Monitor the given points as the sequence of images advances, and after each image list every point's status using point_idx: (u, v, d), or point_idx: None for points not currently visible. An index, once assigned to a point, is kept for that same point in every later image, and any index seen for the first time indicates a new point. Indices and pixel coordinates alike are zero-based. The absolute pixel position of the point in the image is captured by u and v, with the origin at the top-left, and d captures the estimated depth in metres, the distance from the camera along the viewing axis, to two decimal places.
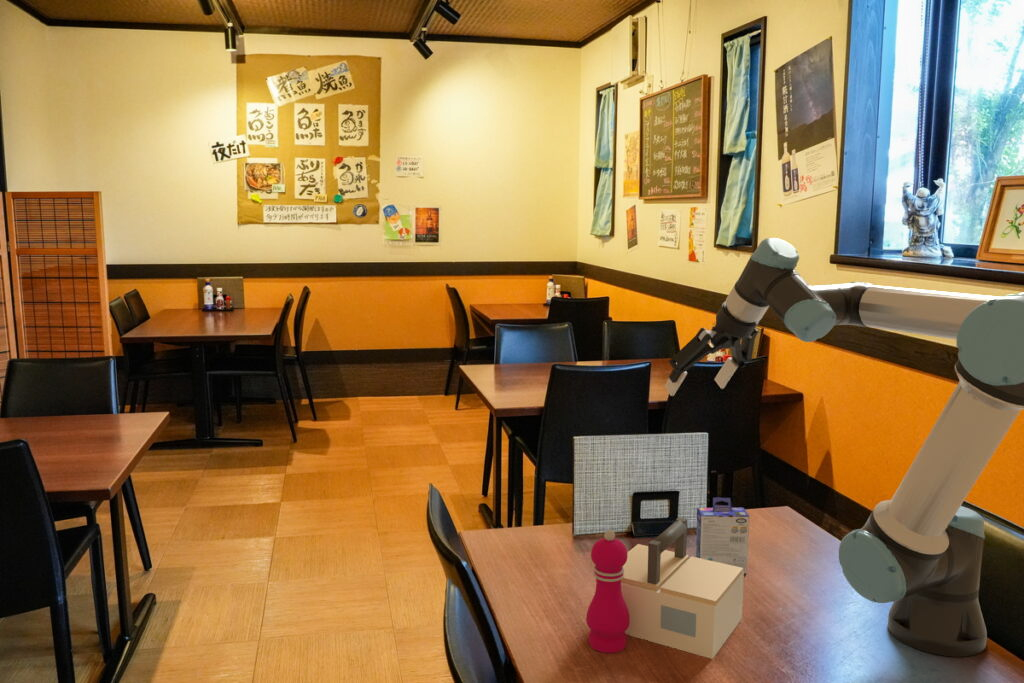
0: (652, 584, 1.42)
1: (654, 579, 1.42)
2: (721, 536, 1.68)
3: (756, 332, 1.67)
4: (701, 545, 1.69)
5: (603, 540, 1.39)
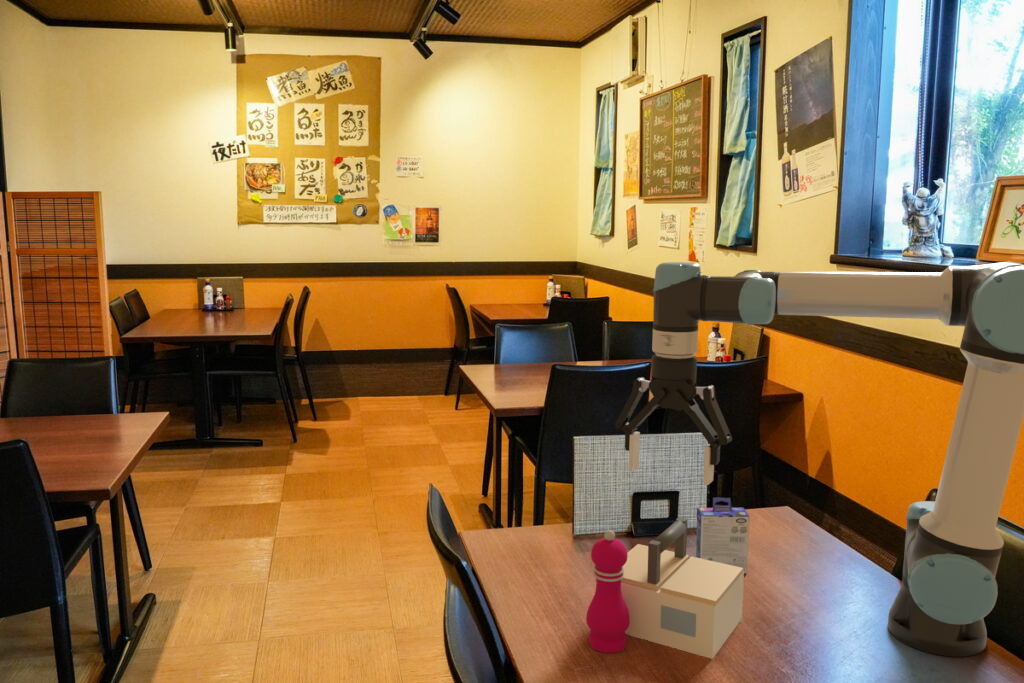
0: (652, 584, 1.42)
1: (654, 579, 1.42)
2: (721, 536, 1.68)
3: None
4: (701, 545, 1.69)
5: (603, 540, 1.39)
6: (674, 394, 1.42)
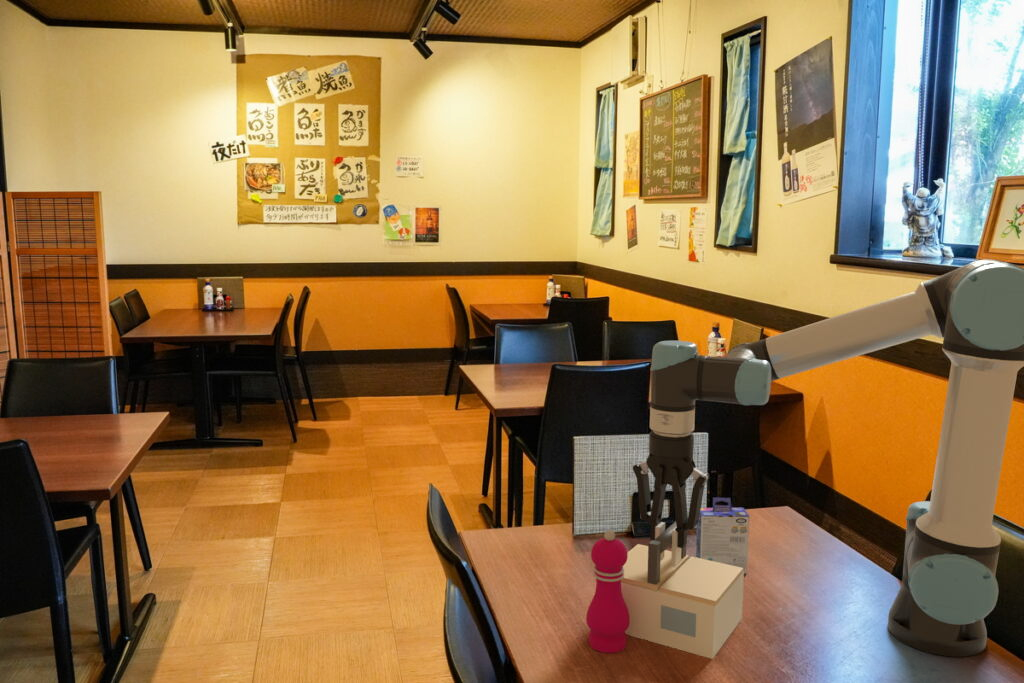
0: (652, 584, 1.42)
1: (654, 579, 1.42)
2: (721, 536, 1.68)
3: None
4: (701, 545, 1.69)
5: (603, 540, 1.39)
6: (672, 470, 1.43)
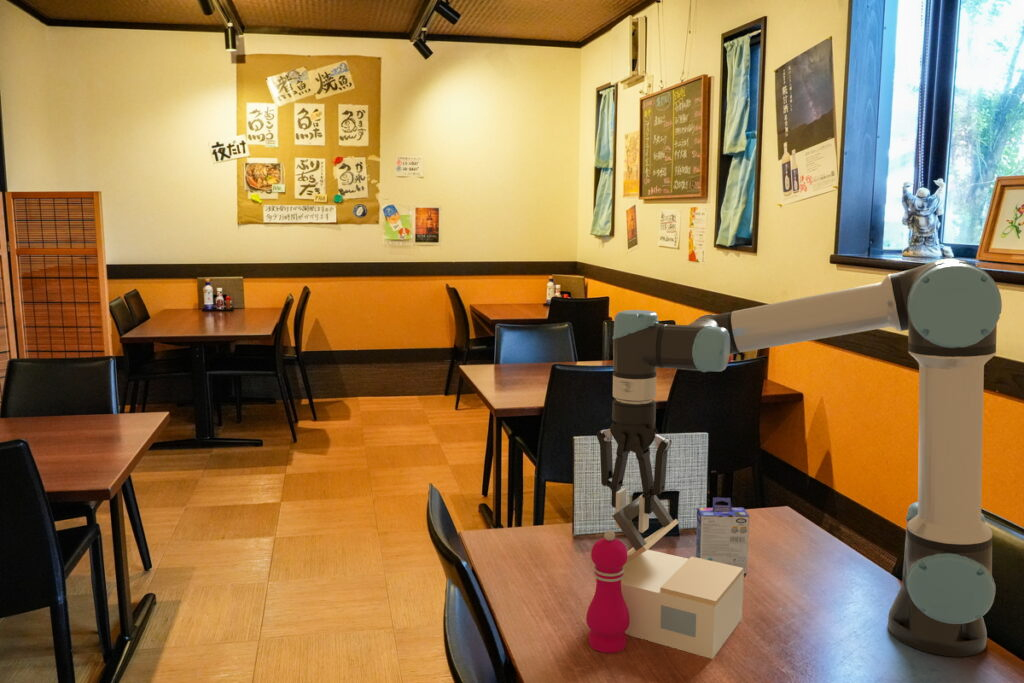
0: (639, 548, 1.43)
1: (638, 543, 1.43)
2: (721, 536, 1.68)
3: None
4: (701, 545, 1.69)
5: (603, 540, 1.39)
6: (634, 437, 1.46)
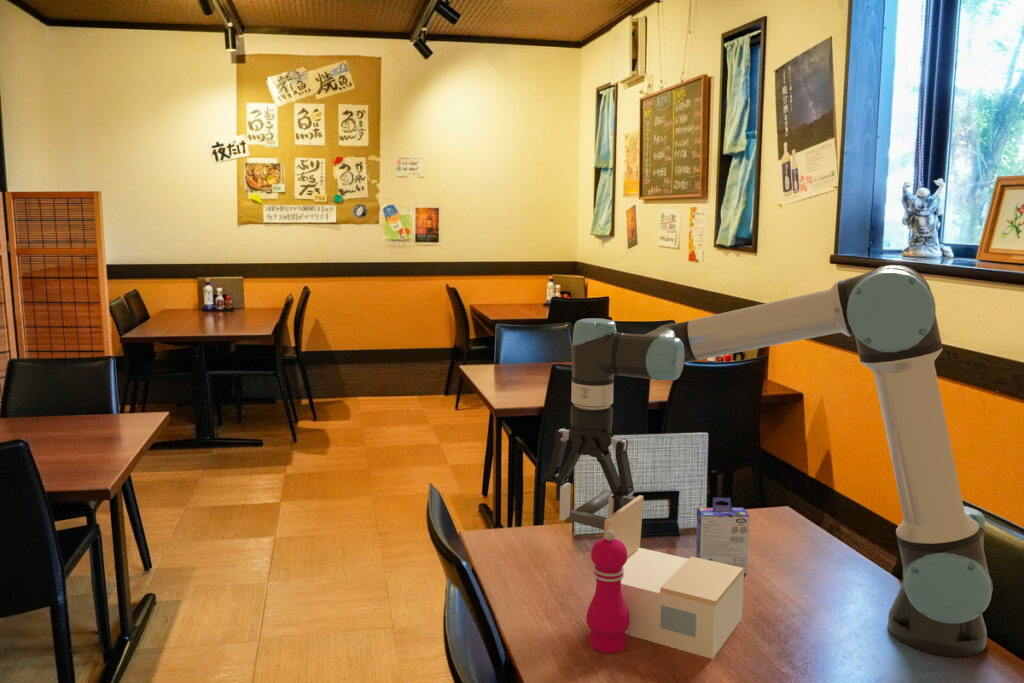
0: (604, 525, 1.46)
1: (601, 522, 1.46)
2: (721, 536, 1.68)
3: None
4: (701, 545, 1.69)
5: (603, 540, 1.39)
6: (590, 442, 1.51)
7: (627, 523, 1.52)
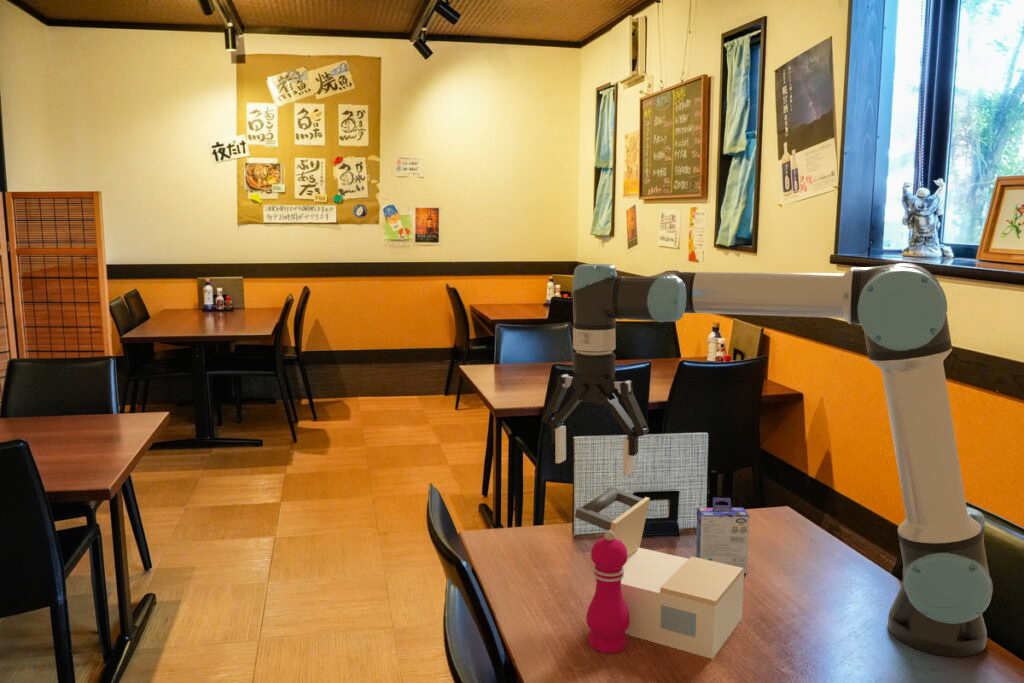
0: (611, 526, 1.45)
1: (607, 523, 1.45)
2: (721, 536, 1.68)
3: None
4: (701, 545, 1.69)
5: (603, 540, 1.39)
6: (594, 389, 1.49)
7: (631, 524, 1.52)
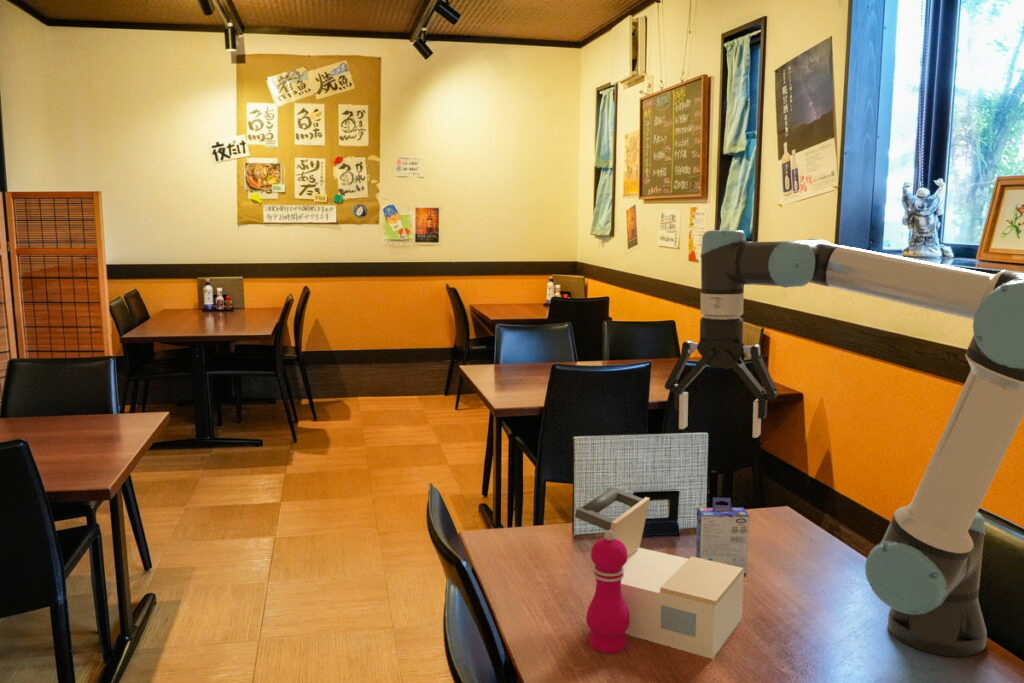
0: (611, 526, 1.45)
1: (607, 523, 1.45)
2: (721, 536, 1.68)
3: None
4: (701, 545, 1.69)
5: (603, 540, 1.39)
6: (723, 353, 1.51)
7: (631, 524, 1.52)
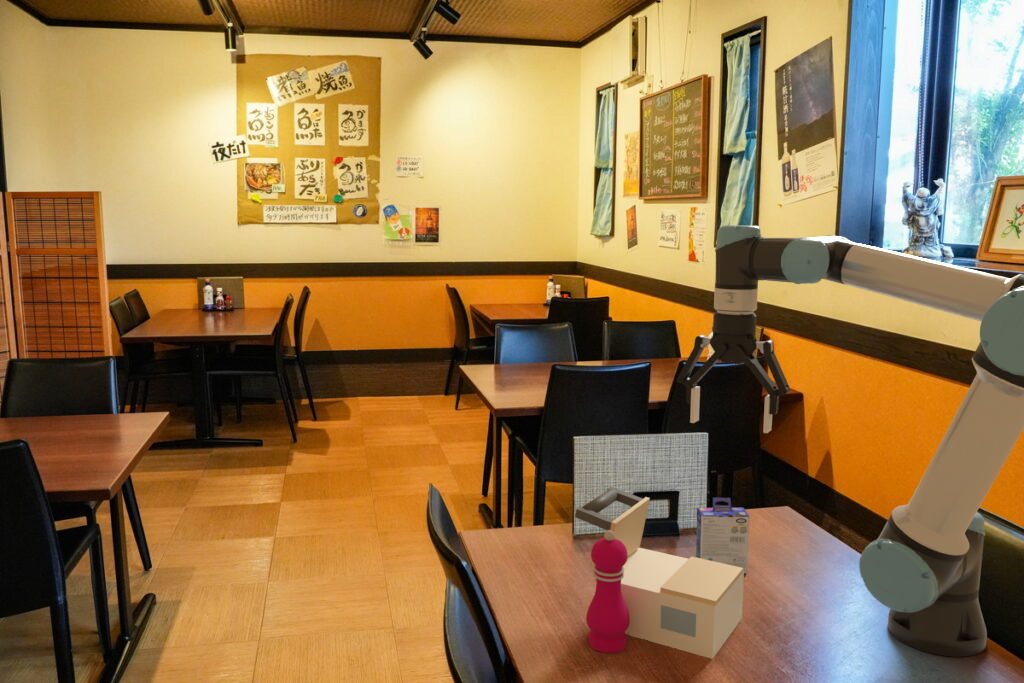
0: (611, 526, 1.45)
1: (607, 523, 1.45)
2: (721, 536, 1.68)
3: None
4: (701, 545, 1.69)
5: (603, 540, 1.39)
6: (735, 348, 1.51)
7: (631, 524, 1.52)
